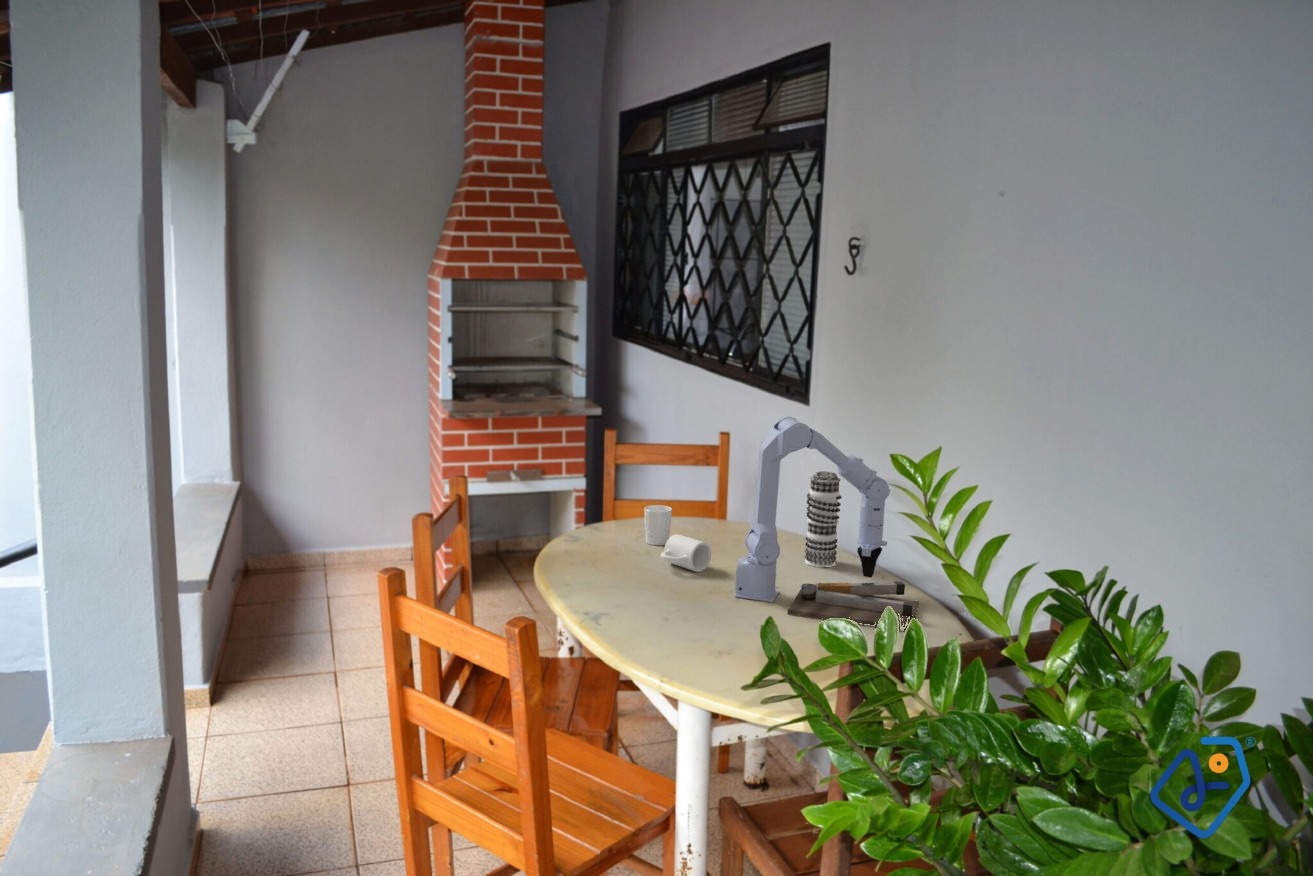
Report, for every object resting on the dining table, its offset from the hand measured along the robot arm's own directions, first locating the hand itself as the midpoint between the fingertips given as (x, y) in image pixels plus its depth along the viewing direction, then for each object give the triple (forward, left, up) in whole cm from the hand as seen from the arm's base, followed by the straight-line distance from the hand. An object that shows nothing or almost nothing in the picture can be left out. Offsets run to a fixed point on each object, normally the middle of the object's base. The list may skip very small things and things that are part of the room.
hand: (868, 576), depth 242 cm
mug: (-48, -1, -4) cm, 48 cm away
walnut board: (-1, -14, -4) cm, 15 cm away
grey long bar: (+1, -15, -3) cm, 16 cm away
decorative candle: (-15, +19, -4) cm, 24 cm away
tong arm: (-2, -9, -3) cm, 9 cm away
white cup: (-62, +19, -4) cm, 65 cm away
